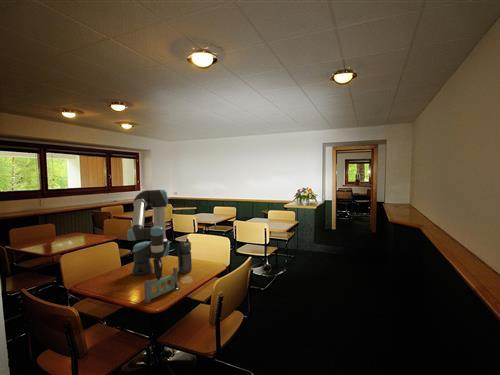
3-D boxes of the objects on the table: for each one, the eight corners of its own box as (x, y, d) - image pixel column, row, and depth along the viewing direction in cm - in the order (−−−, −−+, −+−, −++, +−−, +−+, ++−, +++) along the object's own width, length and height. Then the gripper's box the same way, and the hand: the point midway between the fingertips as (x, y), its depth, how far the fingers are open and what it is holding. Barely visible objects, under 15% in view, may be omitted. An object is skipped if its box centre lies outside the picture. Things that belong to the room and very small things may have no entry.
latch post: (143, 302, 147) (143, 281, 146) (148, 300, 149) (148, 279, 149) (147, 304, 145) (146, 282, 144) (151, 301, 148) (151, 280, 147)
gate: (172, 287, 164) (172, 274, 164) (174, 288, 162) (174, 275, 162) (148, 298, 150) (147, 283, 150) (150, 299, 149) (150, 284, 148)
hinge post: (169, 289, 164) (168, 267, 163) (176, 285, 169) (175, 264, 168) (175, 291, 160) (174, 269, 160) (182, 287, 165) (181, 266, 165)
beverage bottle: (174, 274, 190) (173, 242, 189) (183, 268, 202) (182, 237, 201) (185, 275, 187) (184, 242, 186) (194, 269, 199) (193, 238, 198)
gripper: (148, 249, 161) (149, 285, 162) (154, 254, 150) (155, 292, 151) (160, 247, 165) (161, 282, 166) (166, 252, 154) (167, 289, 156)
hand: (158, 287), depth 159 cm, fingers closed
